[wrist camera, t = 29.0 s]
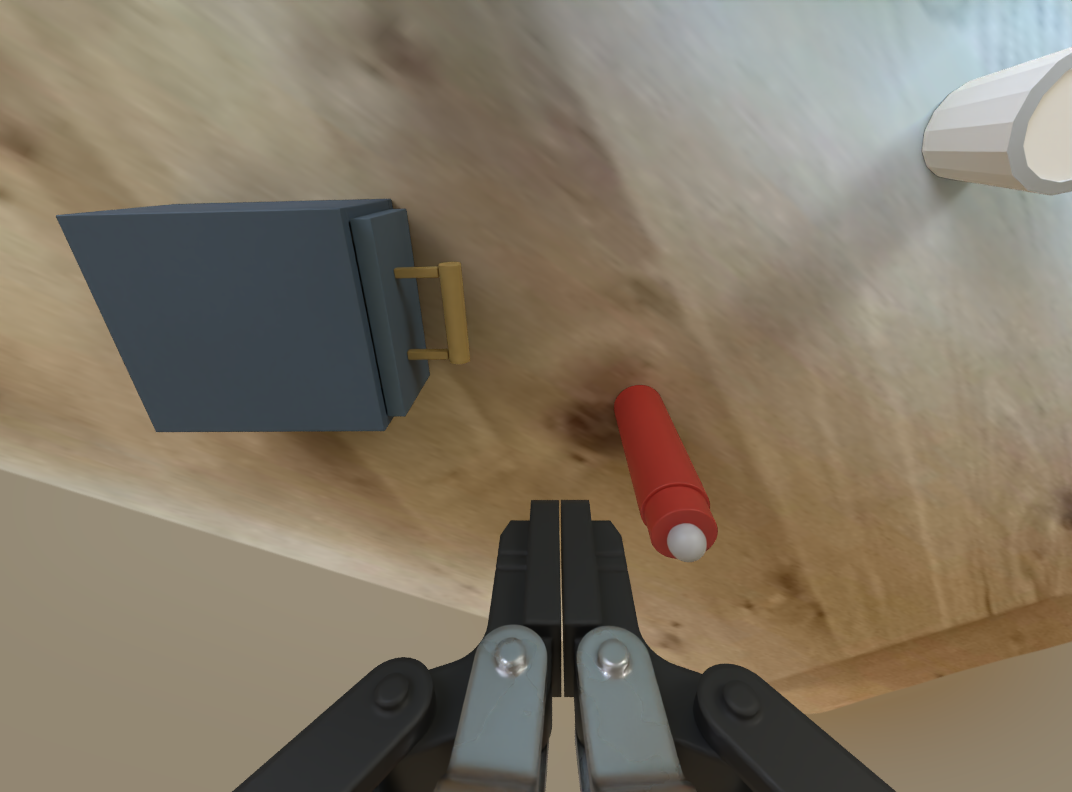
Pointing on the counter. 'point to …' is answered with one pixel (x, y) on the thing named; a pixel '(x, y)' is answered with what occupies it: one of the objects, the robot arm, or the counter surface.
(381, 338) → the drawer
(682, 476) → the pepper mill
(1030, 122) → the white faceted cylinder
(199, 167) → the counter surface
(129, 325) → the cabinet
